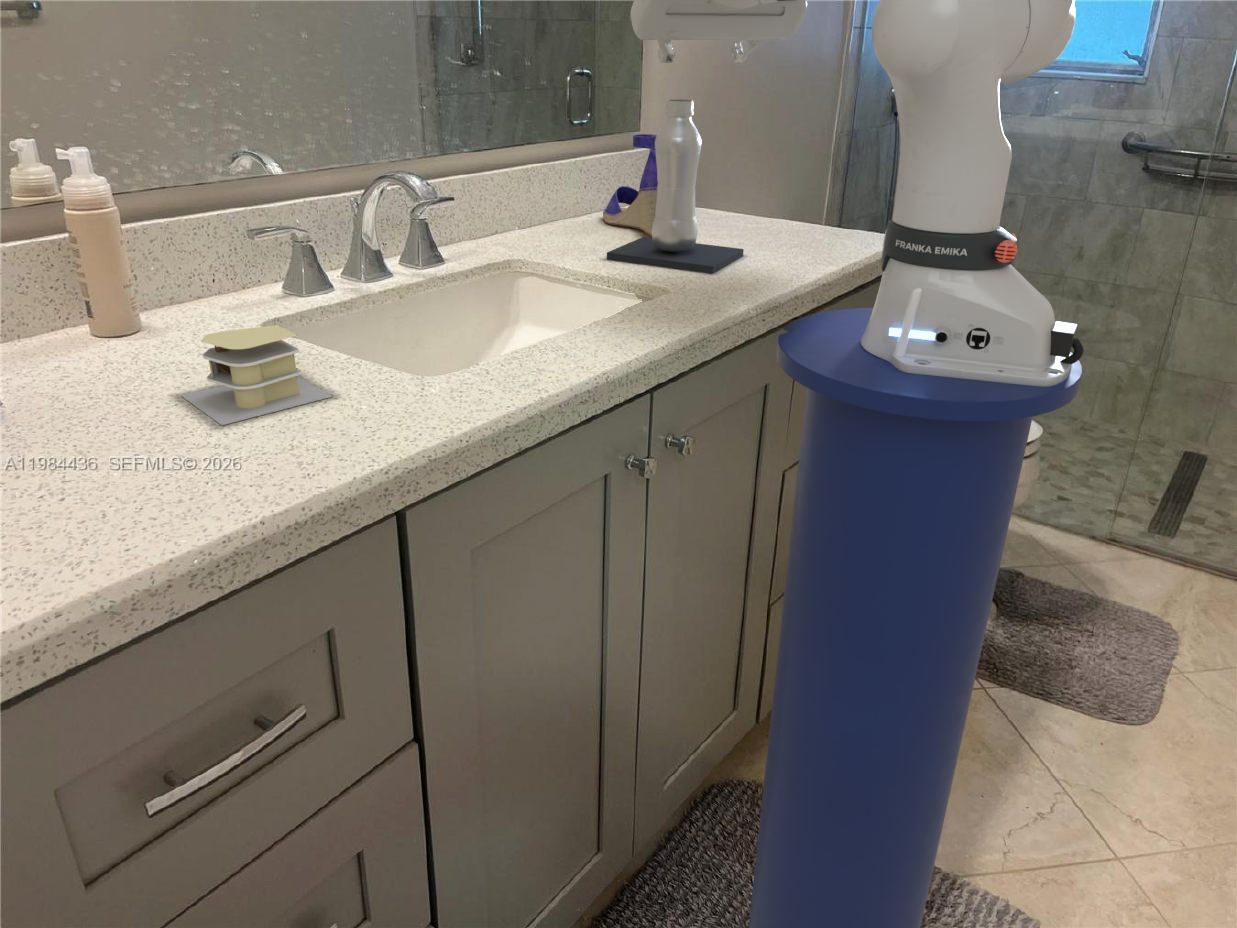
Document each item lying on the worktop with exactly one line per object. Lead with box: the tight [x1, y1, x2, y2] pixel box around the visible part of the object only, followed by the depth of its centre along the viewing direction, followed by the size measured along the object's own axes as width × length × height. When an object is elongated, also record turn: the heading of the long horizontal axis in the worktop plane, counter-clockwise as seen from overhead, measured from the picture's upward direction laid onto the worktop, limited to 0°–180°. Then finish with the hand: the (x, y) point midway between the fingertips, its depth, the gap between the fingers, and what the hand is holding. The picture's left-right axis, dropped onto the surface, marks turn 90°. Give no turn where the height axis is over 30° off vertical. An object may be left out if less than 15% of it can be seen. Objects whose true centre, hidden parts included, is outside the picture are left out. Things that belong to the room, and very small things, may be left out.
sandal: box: [602, 133, 658, 238], centre depth 151 cm, size 8×20×15 cm, turn 15°
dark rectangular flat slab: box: [606, 236, 745, 274], centre depth 135 cm, size 16×12×1 cm
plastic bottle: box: [652, 98, 703, 252], centre depth 130 cm, size 6×7×20 cm
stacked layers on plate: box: [180, 324, 334, 426], centre depth 83 cm, size 10×9×6 cm
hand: (701, 58), depth 117 cm, fingers open, 8 cm apart
